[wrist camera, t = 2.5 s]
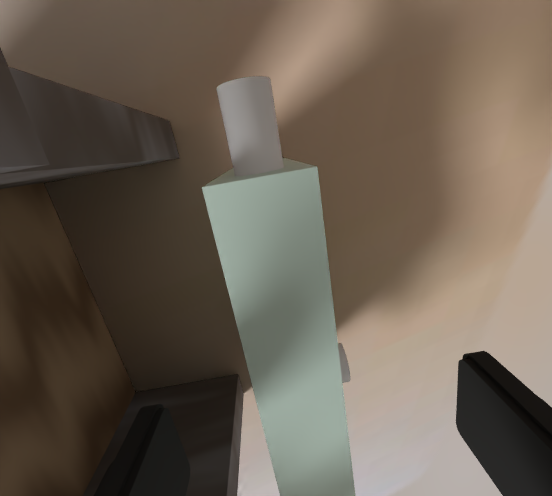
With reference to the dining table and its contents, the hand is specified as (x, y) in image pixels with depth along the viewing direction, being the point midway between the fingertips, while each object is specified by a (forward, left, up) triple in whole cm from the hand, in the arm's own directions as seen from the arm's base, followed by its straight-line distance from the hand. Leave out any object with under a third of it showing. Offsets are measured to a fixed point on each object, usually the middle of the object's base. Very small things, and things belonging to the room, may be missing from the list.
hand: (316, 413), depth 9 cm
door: (-1, 0, -11) cm, 11 cm away
